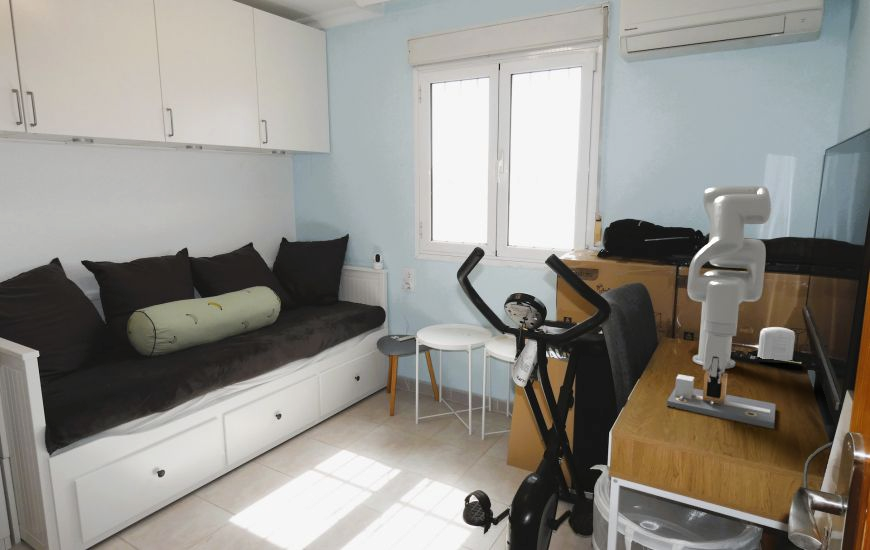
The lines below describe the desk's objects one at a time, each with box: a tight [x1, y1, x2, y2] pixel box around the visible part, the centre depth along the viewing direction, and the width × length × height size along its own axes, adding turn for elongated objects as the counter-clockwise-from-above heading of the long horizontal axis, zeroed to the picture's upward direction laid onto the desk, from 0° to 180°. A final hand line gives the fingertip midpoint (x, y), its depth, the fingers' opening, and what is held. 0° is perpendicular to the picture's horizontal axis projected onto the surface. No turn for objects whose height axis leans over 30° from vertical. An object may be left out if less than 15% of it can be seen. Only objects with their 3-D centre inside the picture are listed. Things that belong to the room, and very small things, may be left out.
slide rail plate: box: [666, 374, 776, 430], centre depth 136 cm, size 14×24×6 cm, turn 56°
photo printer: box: [757, 326, 796, 361], centre depth 172 cm, size 10×4×12 cm, turn 81°
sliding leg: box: [702, 369, 728, 405], centre depth 135 cm, size 7×5×7 cm
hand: (714, 393), depth 137 cm, fingers closed on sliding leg, 4 cm apart
